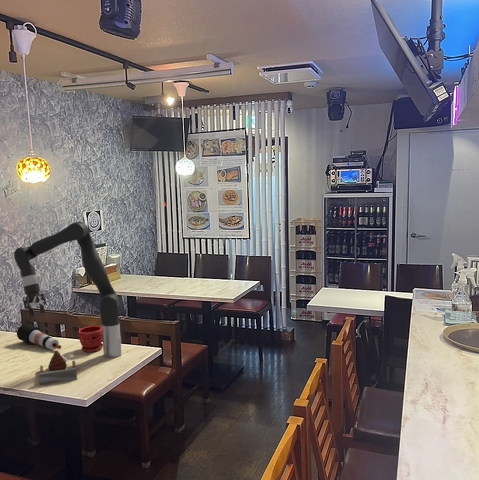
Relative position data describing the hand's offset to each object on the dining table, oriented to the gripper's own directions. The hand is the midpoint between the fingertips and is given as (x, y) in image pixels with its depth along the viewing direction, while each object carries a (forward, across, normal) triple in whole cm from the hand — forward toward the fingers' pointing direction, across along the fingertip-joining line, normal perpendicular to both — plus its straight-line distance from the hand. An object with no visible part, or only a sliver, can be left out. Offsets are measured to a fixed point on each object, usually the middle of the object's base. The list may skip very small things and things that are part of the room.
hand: (37, 314), depth 247 cm
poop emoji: (+29, -5, -8) cm, 31 cm away
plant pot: (+27, +24, -11) cm, 37 cm away
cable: (+18, +23, +21) cm, 36 cm away
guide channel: (+31, -12, -13) cm, 36 cm away
